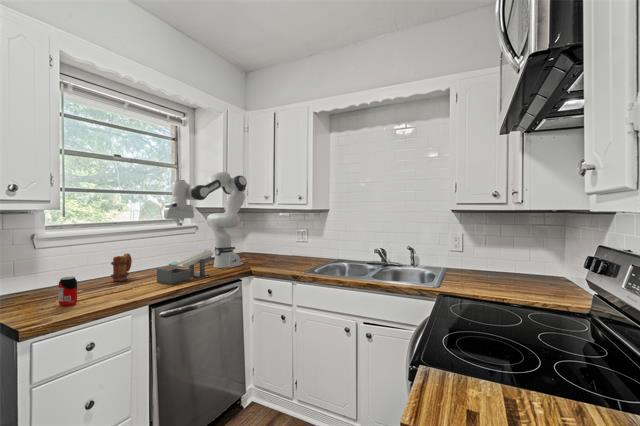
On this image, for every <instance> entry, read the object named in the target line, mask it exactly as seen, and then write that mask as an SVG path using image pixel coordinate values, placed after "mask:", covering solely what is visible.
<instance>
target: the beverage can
mask: <svg viewBox="0 0 640 426" xmlns="http://www.w3.org/2000/svg"><path fill="white" fill-rule="evenodd" d="M77 303H78V281H77V279H76V276H65V277H61V278H60V279H59V282H58V305H59V306H60V307H70V306H74V305H76V304H77Z"/></svg>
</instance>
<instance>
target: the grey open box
mask: <svg viewBox="0 0 640 426" xmlns="http://www.w3.org/2000/svg"><path fill="white" fill-rule="evenodd" d="M185 281H186V282H189V281H191V277H190V270H189V269H185V268H179V267H175V268H171V269H165V268H156V282H158V283H159V284H162V285H163V284H164V285H169V286H172V285H177V283H178V284H181V283H180V282H182V283H186V282H185Z"/></svg>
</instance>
